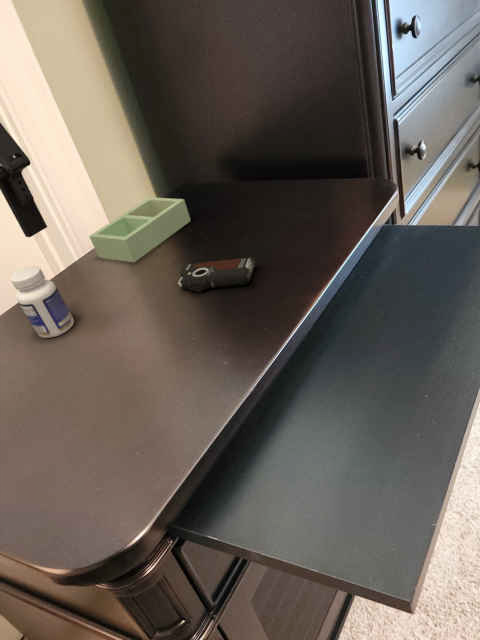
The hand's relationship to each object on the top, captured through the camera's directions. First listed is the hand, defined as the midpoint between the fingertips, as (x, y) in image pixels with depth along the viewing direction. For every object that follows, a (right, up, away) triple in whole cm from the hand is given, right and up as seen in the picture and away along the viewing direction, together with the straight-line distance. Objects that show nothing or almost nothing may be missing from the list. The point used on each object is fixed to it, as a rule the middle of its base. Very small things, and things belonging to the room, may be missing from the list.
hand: (1, 228), depth 65 cm
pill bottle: (+2, -11, +10) cm, 15 cm away
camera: (+25, -4, +13) cm, 28 cm away
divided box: (+9, +8, +29) cm, 32 cm away
